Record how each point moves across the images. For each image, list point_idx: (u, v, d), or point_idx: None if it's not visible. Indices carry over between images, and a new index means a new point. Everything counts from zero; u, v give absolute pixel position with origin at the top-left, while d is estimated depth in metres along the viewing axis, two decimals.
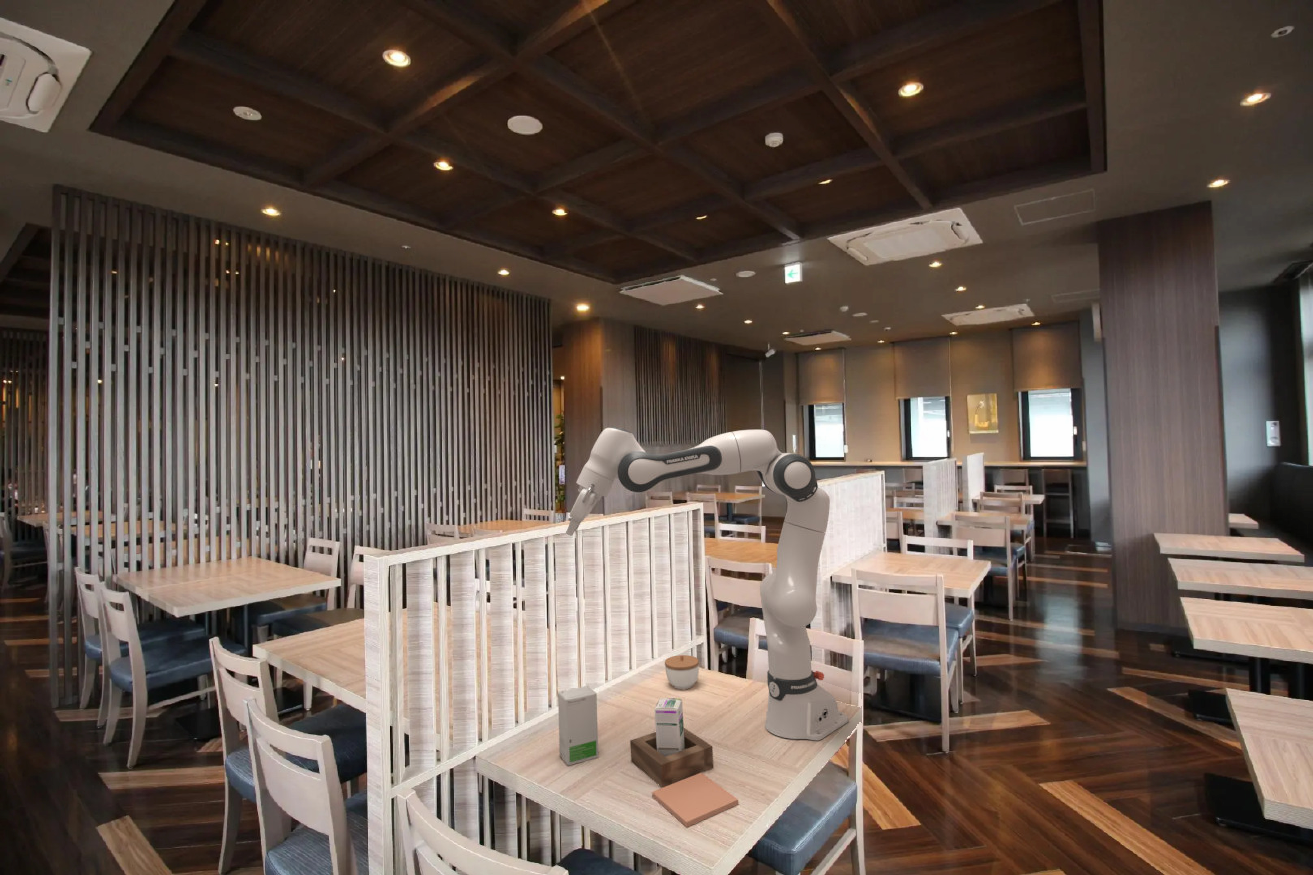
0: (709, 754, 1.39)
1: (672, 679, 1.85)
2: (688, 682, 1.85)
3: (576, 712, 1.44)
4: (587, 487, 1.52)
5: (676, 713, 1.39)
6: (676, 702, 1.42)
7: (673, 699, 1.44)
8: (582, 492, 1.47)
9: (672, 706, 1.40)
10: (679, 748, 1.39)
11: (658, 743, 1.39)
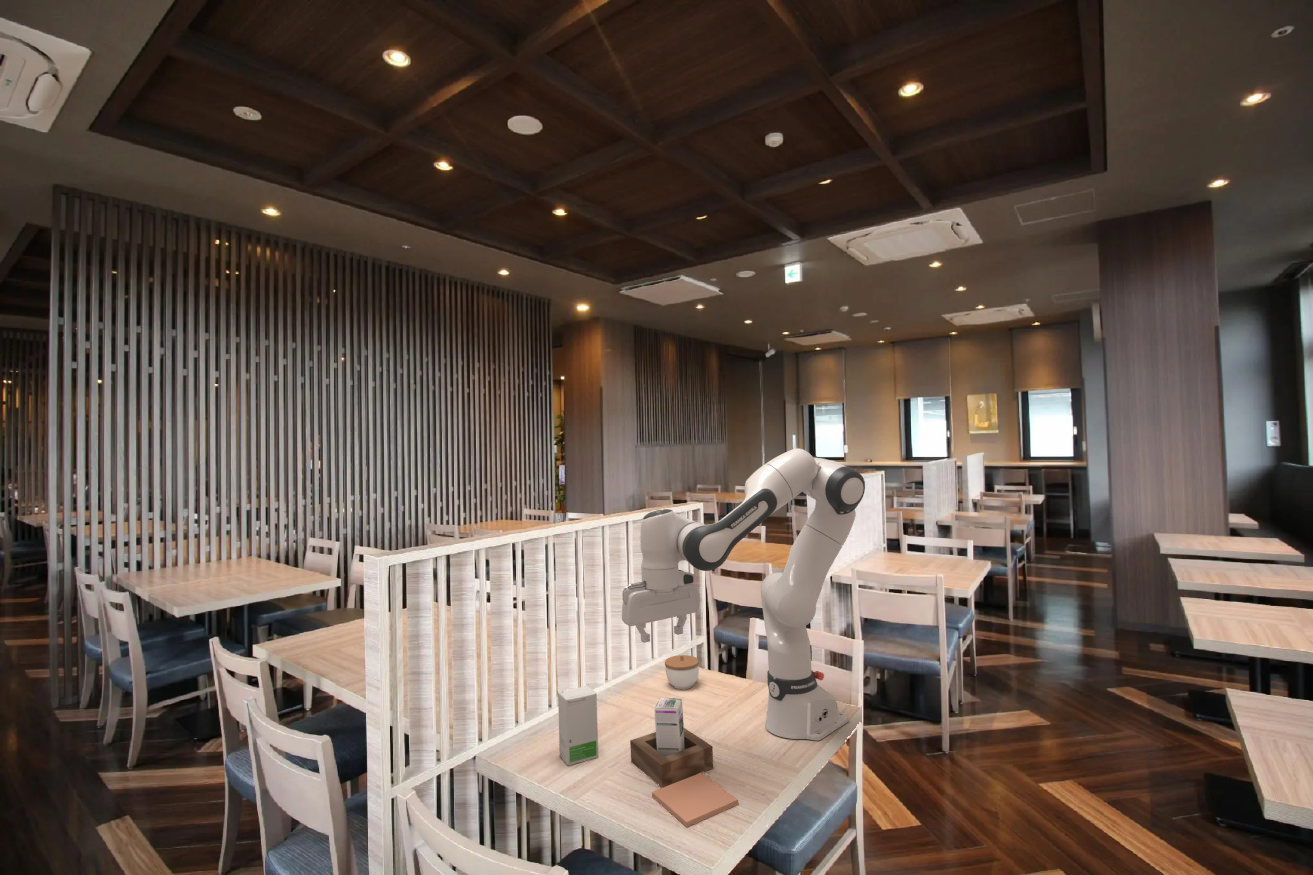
0: (709, 754, 1.39)
1: (672, 679, 1.85)
2: (688, 682, 1.85)
3: (576, 712, 1.44)
4: None
5: (676, 713, 1.39)
6: (676, 702, 1.42)
7: (673, 699, 1.44)
8: None
9: (672, 706, 1.40)
10: (679, 748, 1.39)
11: (658, 743, 1.39)
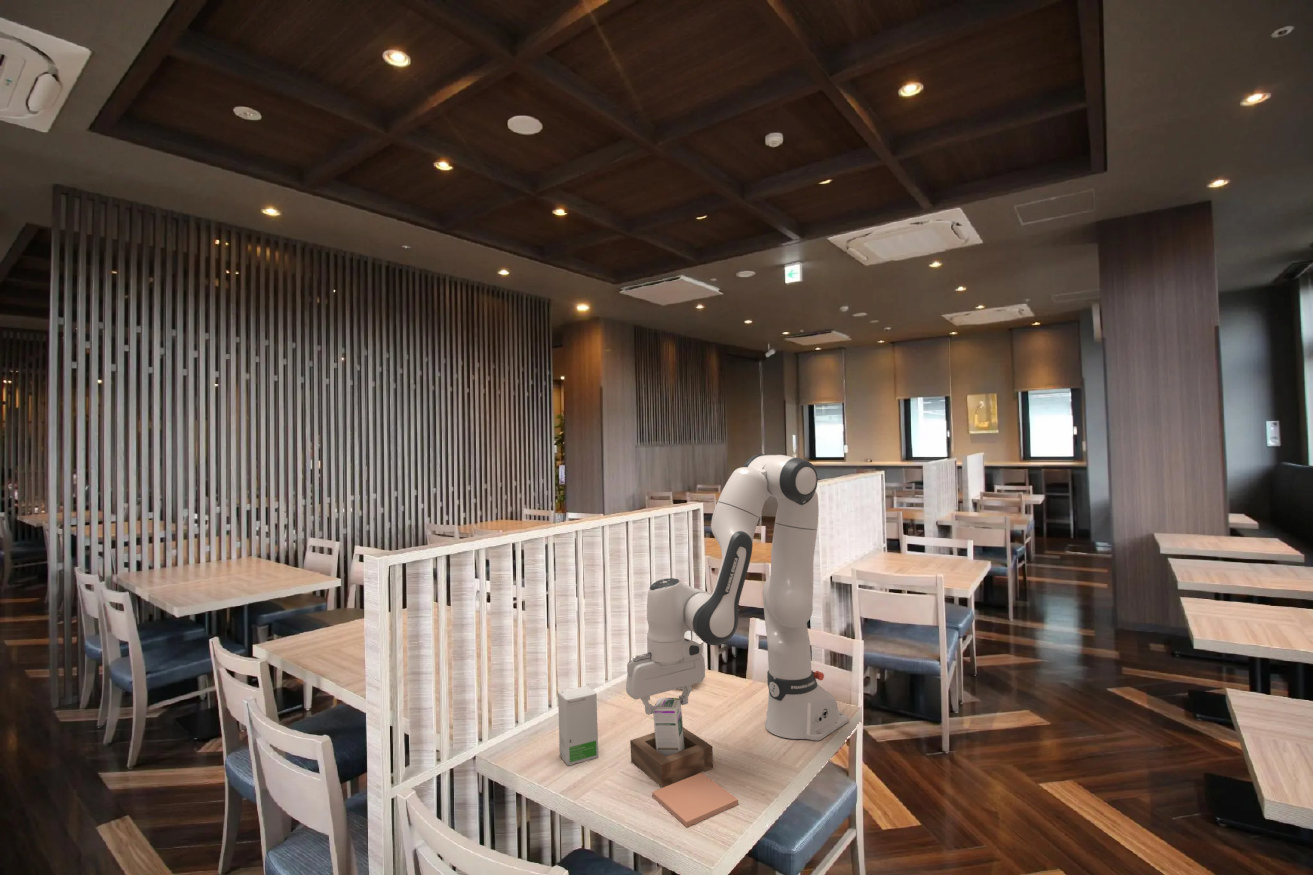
0: (709, 754, 1.39)
1: None
2: None
3: (576, 712, 1.44)
4: None
5: (674, 713, 1.39)
6: (675, 701, 1.42)
7: (671, 699, 1.43)
8: None
9: (670, 706, 1.40)
10: (678, 748, 1.38)
11: (657, 743, 1.39)
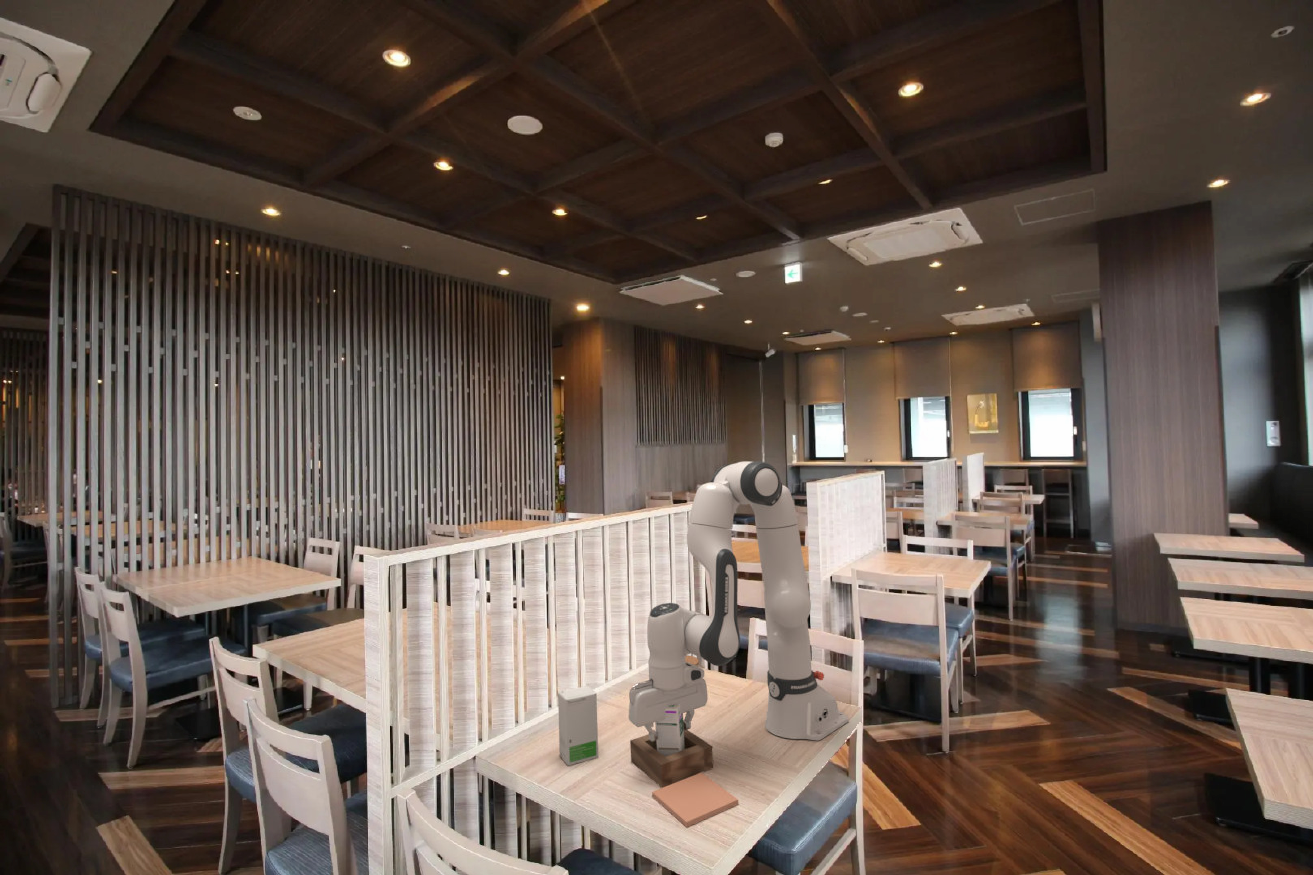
0: (709, 754, 1.39)
1: None
2: None
3: (576, 712, 1.44)
4: None
5: (676, 713, 1.39)
6: None
7: None
8: None
9: (672, 706, 1.40)
10: (679, 748, 1.39)
11: (658, 743, 1.39)
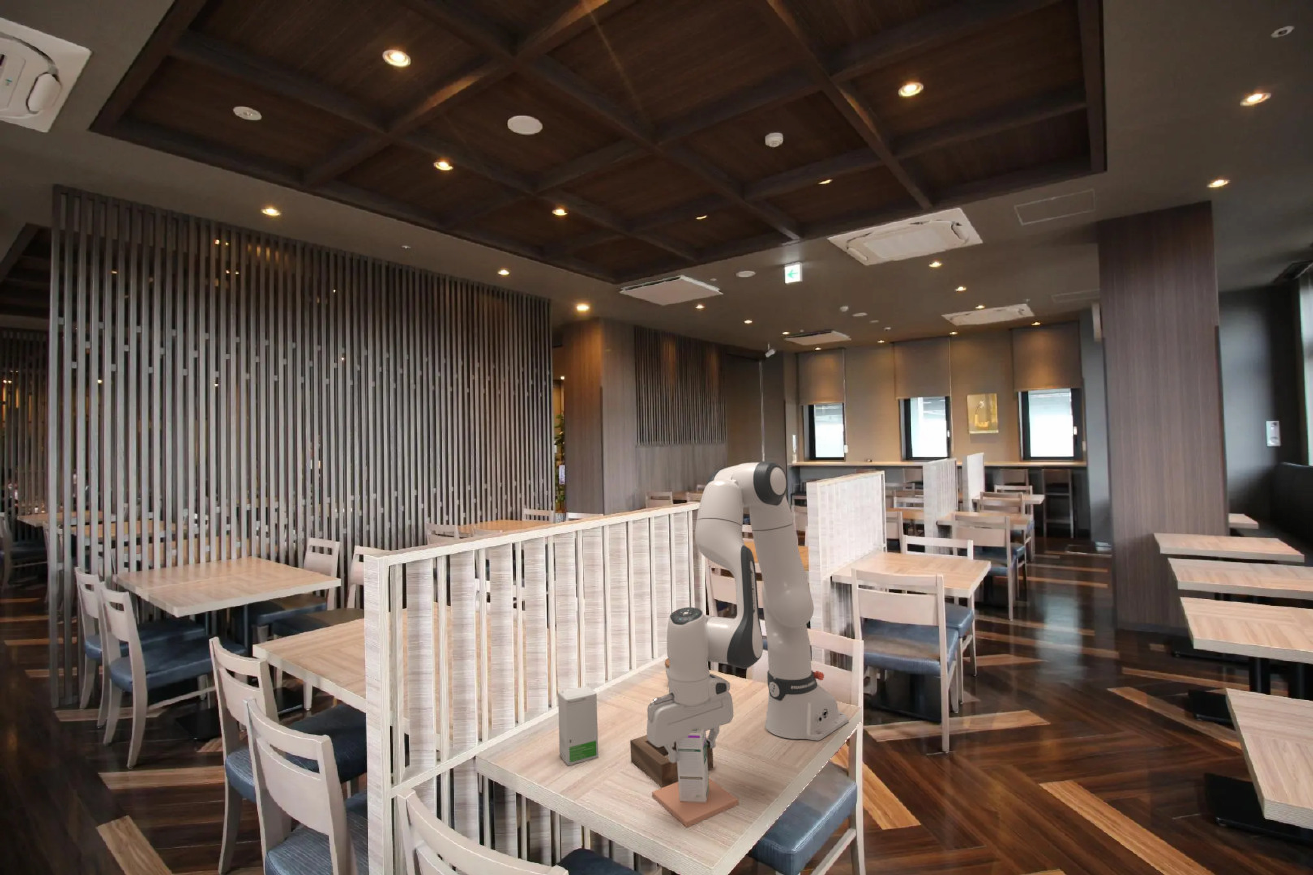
0: (709, 754, 1.39)
1: None
2: None
3: (576, 712, 1.44)
4: None
5: (700, 738, 1.24)
6: None
7: None
8: None
9: (695, 730, 1.25)
10: (703, 777, 1.24)
11: (679, 771, 1.25)
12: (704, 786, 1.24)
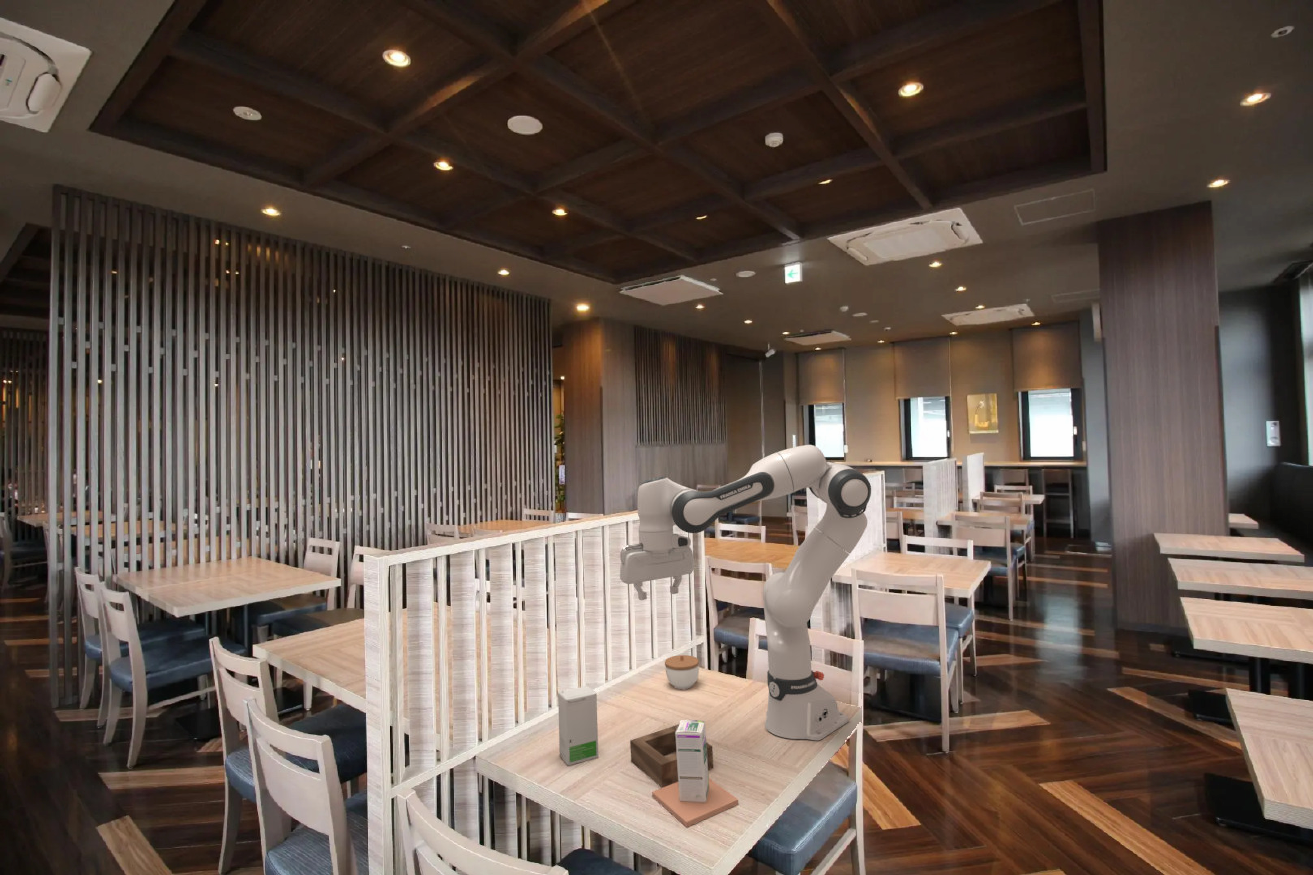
0: (709, 754, 1.39)
1: (672, 679, 1.85)
2: (688, 682, 1.85)
3: (576, 712, 1.44)
4: None
5: (700, 738, 1.24)
6: (699, 724, 1.27)
7: (695, 721, 1.29)
8: None
9: (695, 730, 1.25)
10: (703, 777, 1.24)
11: (679, 771, 1.25)
12: (704, 786, 1.24)
